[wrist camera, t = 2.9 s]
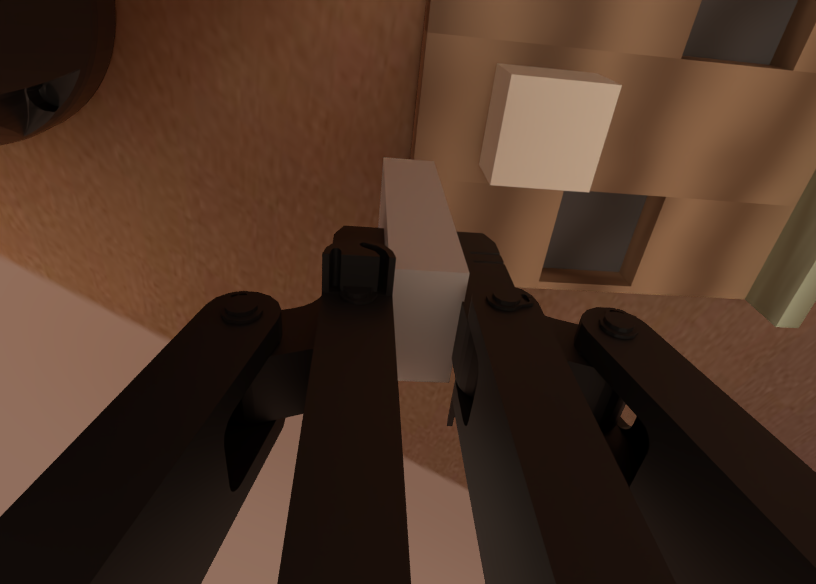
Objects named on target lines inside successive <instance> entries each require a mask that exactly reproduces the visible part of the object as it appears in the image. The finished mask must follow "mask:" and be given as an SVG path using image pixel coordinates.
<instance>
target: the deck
mask: <svg viewBox="0 0 816 584" xmlns="http://www.w3.org/2000/svg"><path fill="white" fill-rule="evenodd" d="M497 63H500V64H510V65H520V66H530V67H540V68H550V69H560V70H570V71H580V72H590V73H597V74H599V75H602V76H604V77H606V78H608V79H610V80H612V81H614V82H617V83H619V84H621V85H622V87H621V90H620V93H619V97H618V100H617V103H616V106H615V110H614V113H613V116H612V120H611V123H610V126H609V129H608V133H607V136H606V139H605V142H604V146H603V149H602V152H601V155H600V159H599V162H598V165H597V169H596V172H595V175H594V178H593V182H592V185H591V188H590V191H589V192H576V191H563V190H549V189H535V188H522V187H508V186H495V185H490V184H489V182H488V180H487V178H486V177H485V175H484V173H483V171H482V169H481V167H480V166H479V162H480V156H481V151H482V145H483V140H484V134H485V128H486V123H487V117H488V111H489V106H490V100H491V95H492V89H493V83H494V78H495V72H496V66H497ZM410 159H411V160H424V161H434V163H435V166H436V169H437V173H438V176H439V179H440V182H441V185H442V188H443V191H444V194H445V198H446V201H447V204H448V207H449V210H450V213H451V216H452V220H453V223H454V226H455V229H456V231H457V232H472V233H484V234H485V235H486V236H487V237H488V238H490V239H491V240H492V241H493V242H495V243H496V246H497V248H498V250H499V252H500V256H501V257H502V259H503V261H504V264H505V266H506V268H507V270H508V272H509V275H510V277H511V279H512V281H513V284H514V286H515V287H519V288H538V289H557V290H577V291H596V292H615V293H634V294H653V295H672V296H691V297H710V298H729V299H745V300H746V301H747V302H748V303H749V304H751V305H752V306H753V307H754V308H755V309H756V310H757V311H758V312H760V313H761V314H762V315H763V316H764V317H765V318H766V319H767V320H769V321H770V322H771V323H772V324H773V325H774V326H775V327H789V328H799V326H800V325H801V323H802V322H803V320H804V318H805V317H806V315H807V314H808V312H809V311H810V309H811V307H812V306H813V304H814V303H815V301H816V0H426V10H425V19H424V29H423V39H422V49H421V58H420V68H419V78H418V88H417V97H416V107H415V117H414V127H413V136H412V146H411V156H410Z"/></svg>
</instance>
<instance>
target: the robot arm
mask: <svg viewBox="0 0 816 584" xmlns="http://www.w3.org/2000/svg"><path fill="white" fill-rule="evenodd" d="M114 37H115V2H114V0H0V145H4V144H9V143H14V142H18V141H21V140H25V139H27V138H30V137H33V136H35V135H37V134H39V133H41V132H43V131H45V130H47V129H49V128H51V127H53V126H55V125H57V124H59V123H61V122H63V121H65V120H66V119H68V118H70V117H71V116H72V115H74V114H75V113H76V112H78V111H79V110H80V109H81V108H82V107H83V106H84V105H85V104H86V103H87V102H88V101H89V99H90V98H91V97H92V96H93V94H94V93H95V91H96V90H97V89H98V87H99V85H100V83H101V81H102V80H103V77H104V75H105V73H106V70H107V68H108V65H109V62H110V58H111V54H112V50H113V44H114ZM452 364H453V368H454V373H455V378H456V379H455V384H454V389H453V394H452V399H451V404H450V409H449V414H448V421H447V426H452V425H453V420H454V417H455V418H456V424H457V429H458V435H459V440H460V446H461V451H462V457H463V462H464V468H465V473H466V479H467V484H468V490H469V495H470V500H471V507H472V512H473V518H474V523H475V529H476V534H477V540H478V545H479V551H480V557H481V562H482V567H483V573H484V579H485V584H816V472H815V471H813V470H812V469H811V468H810V467H809V466H808V465H807V464H805V463H804V462H803V461H802V460H801V459H800V458H799V457H797V456H796V455H795V454H794V453H793V452H792V451H791V450H789V449H788V448H787V447H786V446H785V445H784V444H783V443H781V442H780V441H779V440H778V439H777V438H776V437H775V436H773V435H772V434H771V433H770V432H769V431H768V430H767V429H766V428H764V427H763V426H762V425H761V424H760V423H759V422H758V421H756V420H755V419H754V418H753V417H752V416H751V415H750V414H748V413H747V412H746V411H745V410H744V409H743V408H742V407H740V406H739V405H738V404H737V403H736V402H735V401H734V400H732V399H731V398H730V397H729V396H728V395H727V394H726V393H724V392H723V391H722V390H721V389H720V388H719V387H718V386H717V385H715V384H714V383H713V382H712V381H711V380H710V379H709V378H707V377H706V376H705V375H704V374H703V373H702V372H701V371H699V370H698V369H697V368H696V367H695V366H694V365H693V364H691V363H690V362H689V361H688V360H687V359H686V358H685V357H683V356H682V355H681V354H680V353H679V352H678V351H677V350H675V349H674V348H673V347H672V346H671V345H670V344H669V343H668V342H666V341H665V340H664V339H663V338H662V337H661V336H660V335H658V334H657V333H656V332H655V331H654V330H653V329H652V328H650V327H649V326H648V325H647V324H646V323H644V322H643V321H641V320H640V319H638V318H637V317H636V316H633V315H631V314H629V313H626V312H625V311H623V310H619V309H617V310H616V309H615V308H601V307H596V308H592V309H589V310H587V311H586V312H585V313H583V314H582V316H581V319H580V322H579V325H578V324H574V323H570V322H566V321H562V320H557V319H554V318H551V317H547V316H545V315H544V314H543V311H542V309H541V307H540V305H539V303H538V302H537V301H536V300H535V298H534V297H533V296H532V295H530V294H529V293H527V292H525V291H524V290H522V289H519V288H516V287H515V286H514V284H513V281H512V279H511V277H510V275H509V272H508V270H507V268H506V266H505V264H504V261H503V259H502V257H501V256H500V252H499V250H498V248H497V246H496V243H495V242H493V241H492V240H491V239H490V238H488V237H487V236H486V235H485V234H484V233H472V232H457V231H456V229H455V226H454V223H453V220H452V216H451V213H450V210H449V207H448V204H447V201H446V198H445V194H444V191H443V188H442V185H441V182H440V179H439V176H438V173H437V169H436V166H435V163H434V161H424V160H411V159H399V158H386V157H383V170H382V184H381V197H380V211H379V224H378V228H372V227H356V226H343V227H342V228H341V229H340V230H338V231H337V232H336V233H335V234H334V238H333V244H331V245H329V246H327V247H326V248H325V250H324V252H323V253H322V296H321V297H320V298H319V299H317V300H316V301H314V302H313V303H310V304H308V305H305V306H302V307H297V308H292V309H285V310H281V308H280V306H279V303H278V302H277V301H276V300H275V299H273V298H272V297H271V296H269V295H265V294H262V293H259V292H249V291H239V292H232V293H228V294H225V295H222V296H219V297H216V298H215V299H213V300H212V301H210V302H209V303H208V304H206V305H205V306H204V307H203V308H202V309H201V310H200V311H199V312H198V313H197V314H196V315H195V316H194V317H193V319H192V320H191V321H190V322H189V323H188V324H187V325H186V326H185V327H184V328H183V329H182V330H181V331H180V332H179V333H178V334H177V335H176V336H175V337H174V338H173V339H172V340H171V341H170V342H169V343H168V344H167V345H166V346H165V347H164V348H163V349H162V350H161V352H160V353H159V354H158V355H157V356H156V357H155V358H154V359H153V360H152V361H151V362H150V363H149V364H148V365H147V366H146V367H145V368H144V369H143V370H142V371H141V372H140V373H139V374H138V375H137V376H136V377H135V378H134V380H132V381H131V382H130V384H129V385H128V386H127V387H126V388H125V389H124V390H123V391H122V392H121V393H120V394H119V395H118V396H117V397H116V398H115V399H114V400H113V401H112V402H111V403H110V404H109V405H108V406H107V407H106V408H105V409H104V410H103V411H102V412H101V413H100V414H99V416H98V417H97V418H96V419H95V420H94V421H93V422H92V423H91V424H90V425H89V426H88V427H87V428H86V429H85V430H84V431H83V432H82V433H81V434H80V435H79V436H78V437H77V438H76V439H75V440H74V441H73V442H72V443H71V444H70V445H69V446H68V447H67V449H66V450H65V451H64V452H63V453H62V454H61V455H60V456H59V457H58V458H57V459H56V460H55V461H54V462H53V463H52V464H51V465H50V466H49V467H48V468H47V469H46V470H45V471H44V472H43V473H42V474H41V475H40V476H39V477H38V479H37V480H35V481H34V483H33V484H32V485H31V486H30V487H29V488H28V489H27V490H26V491H25V492H24V493H23V494H22V495H21V496H20V497H19V498H18V499H17V500H16V501H15V502H14V503H13V504H12V505H11V506H10V507H9V508H8V510H6V511H5V512H4V514H3V515H2V516H1V517H0V584H201V583H202V581H203V579H204V577H205V575H206V573H207V571H208V569H209V567H210V566H211V564H212V562H213V560H214V558H215V556H216V554H217V552H218V550H219V548H220V546H221V545H222V543H223V541H224V539H225V537H226V535H227V533H228V531H229V529H230V527H231V526H232V524H233V521H234V520H235V518H236V516H237V514H238V512H239V510H240V508H241V506H242V505H243V502H244V501H245V499H246V497H247V495H248V493H249V491H250V489H251V487H252V485H253V484H254V482H255V480H256V478H257V476H258V474H259V472H260V470H261V468H262V466H263V464H264V463H265V460H266V459H267V457H268V455H269V453H270V451H271V449H272V447H273V445H274V444H275V442H276V440H277V438H278V436H279V434H280V432H281V430H282V428H283V426H284V422H285V418H286V417H290V416H294V415H299V414H303V420H302V427H301V434H300V440H299V446H298V453H297V459H296V466H295V473H294V479H293V486H292V492H291V499H290V505H289V512H288V518H287V525H286V531H285V538H284V545H283V551H282V557H281V564H280V570H279V577H278V584H411V576H410V561H409V545H408V530H407V514H406V498H405V483H404V468H403V452H402V436H401V421H400V405H399V390H398V381H421V382H449V380H450V374H451V369H452ZM626 404H627V405H628V407H629V408H630V409H631V410H632V411H633V412H634V413H635V414H636V416H637V417H636V420H635V422H634V424H633V425H632V427H631V426H629V425H628V424H627V423H626V422H625V421H624V420H623V419H622V418H621V417H620V416H621V414H622V411H623V409H624V407H625V405H626Z"/></svg>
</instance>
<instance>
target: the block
mask: <svg viewBox="0 0 816 584" xmlns="http://www.w3.org/2000/svg"><path fill="white" fill-rule="evenodd" d="M621 87H622V85H621V84H619V83H617V82H614V81H612V80H610V79H608V78H606V77H604V76H602V75H599V74H597V73H590V72H580V71H570V70H560V69H550V68H540V67H530V66H520V65H510V64H500V63H497V66H496V72H495V78H494V83H493V89H492V95H491V100H490V106H489V111H488V117H487V123H486V128H485V134H484V140H483V145H482V151H481V156H480V162H479V166H480V167H481V169H482V171H483V173H484V175H485V177H486V178H487V180H488V182H489V184H490V185H495V186H508V187H522V188H535V189H549V190H563V191H576V192H589V191H590V188H591V185H592V182H593V178H594V175H595V172H596V169H597V165H598V162H599V159H600V155H601V152H602V149H603V146H604V142H605V139H606V136H607V133H608V129H609V126H610V123H611V120H612V116H613V113H614V110H615V106H616V103H617V100H618V97H619V93H620V90H621Z"/></svg>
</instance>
